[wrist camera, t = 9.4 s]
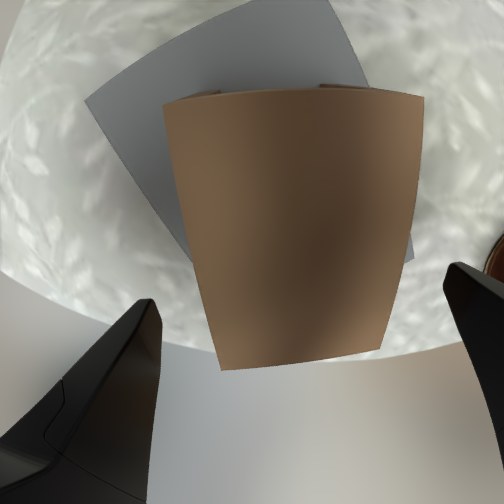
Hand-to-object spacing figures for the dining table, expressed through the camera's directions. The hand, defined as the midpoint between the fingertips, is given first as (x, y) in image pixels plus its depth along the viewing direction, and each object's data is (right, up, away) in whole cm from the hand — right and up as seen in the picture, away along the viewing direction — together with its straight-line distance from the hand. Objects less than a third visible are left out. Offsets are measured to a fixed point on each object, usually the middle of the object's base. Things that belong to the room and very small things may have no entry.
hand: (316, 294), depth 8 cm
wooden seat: (0, +5, +7) cm, 9 cm away
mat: (0, +5, +8) cm, 9 cm away
